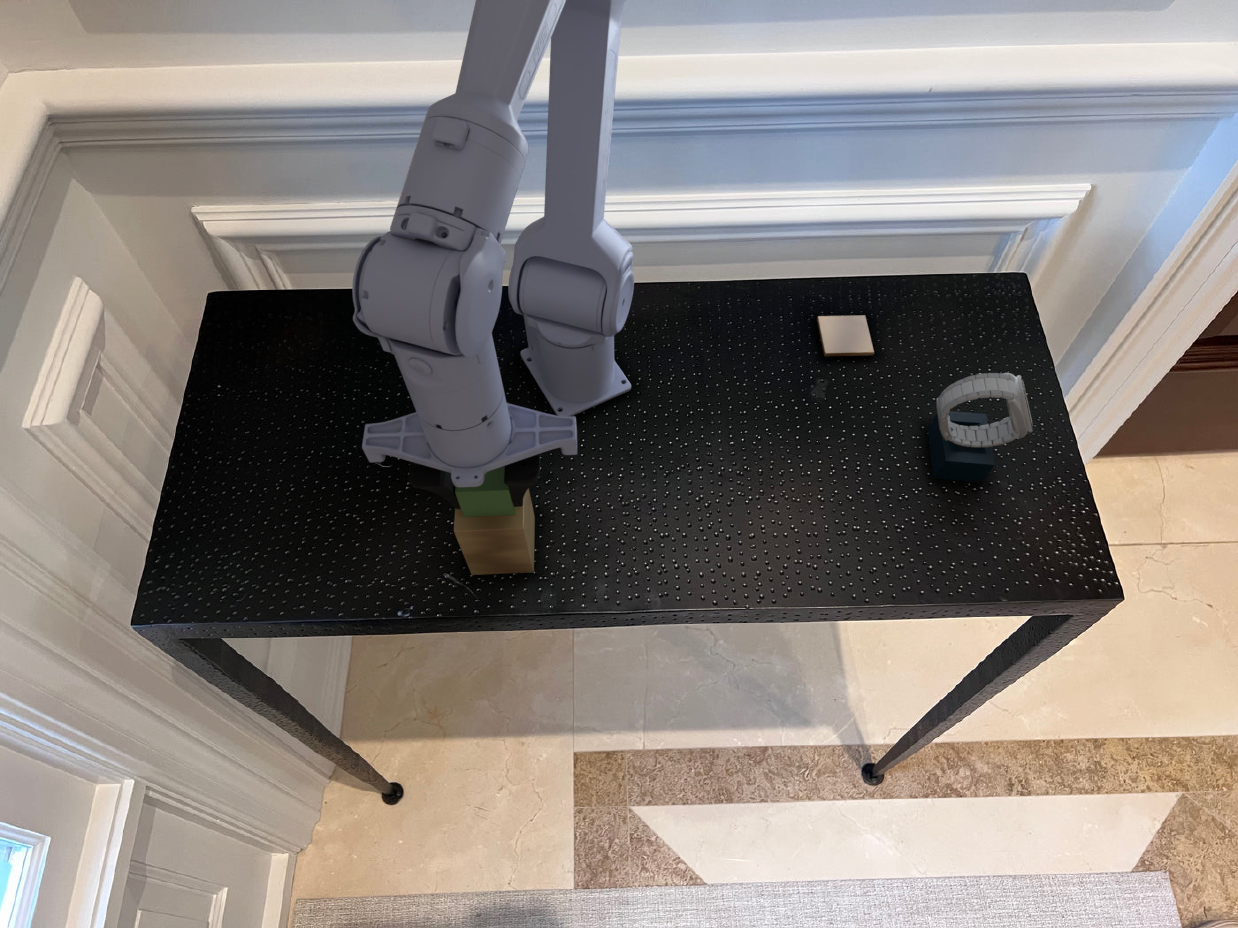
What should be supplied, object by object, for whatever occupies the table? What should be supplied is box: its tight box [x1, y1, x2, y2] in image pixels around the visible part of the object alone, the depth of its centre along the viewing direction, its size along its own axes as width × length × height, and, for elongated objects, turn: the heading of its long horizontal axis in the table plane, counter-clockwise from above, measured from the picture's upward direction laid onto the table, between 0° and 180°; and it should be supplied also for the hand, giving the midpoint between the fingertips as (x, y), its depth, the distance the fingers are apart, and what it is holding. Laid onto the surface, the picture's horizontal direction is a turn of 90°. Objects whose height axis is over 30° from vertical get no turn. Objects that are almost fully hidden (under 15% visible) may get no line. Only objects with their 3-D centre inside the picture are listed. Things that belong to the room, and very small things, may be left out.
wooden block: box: [453, 487, 536, 576], centre depth 66 cm, size 5×5×8 cm
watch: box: [927, 372, 1034, 483], centre depth 69 cm, size 6×8×11 cm
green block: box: [455, 466, 515, 517], centre depth 61 cm, size 4×4×4 cm
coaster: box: [816, 314, 875, 357], centre depth 81 cm, size 5×5×1 cm
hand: (489, 496), depth 62 cm, fingers closed on green block, 4 cm apart
